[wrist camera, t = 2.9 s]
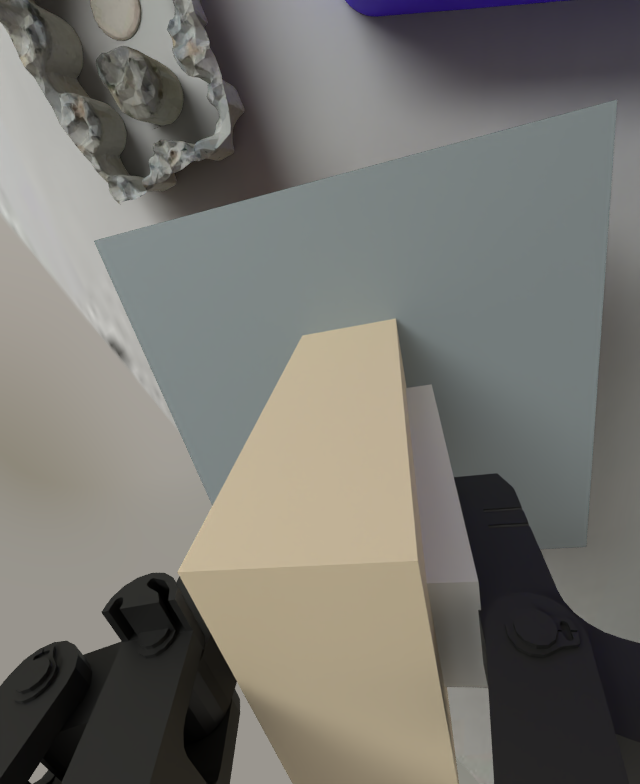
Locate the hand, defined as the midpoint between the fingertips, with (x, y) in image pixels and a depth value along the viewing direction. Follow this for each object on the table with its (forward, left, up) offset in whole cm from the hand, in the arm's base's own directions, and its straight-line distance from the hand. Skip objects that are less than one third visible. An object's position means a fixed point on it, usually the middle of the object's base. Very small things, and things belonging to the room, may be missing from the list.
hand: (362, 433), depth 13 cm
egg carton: (-14, -8, -11) cm, 20 cm away
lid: (0, 0, -3) cm, 3 cm away
